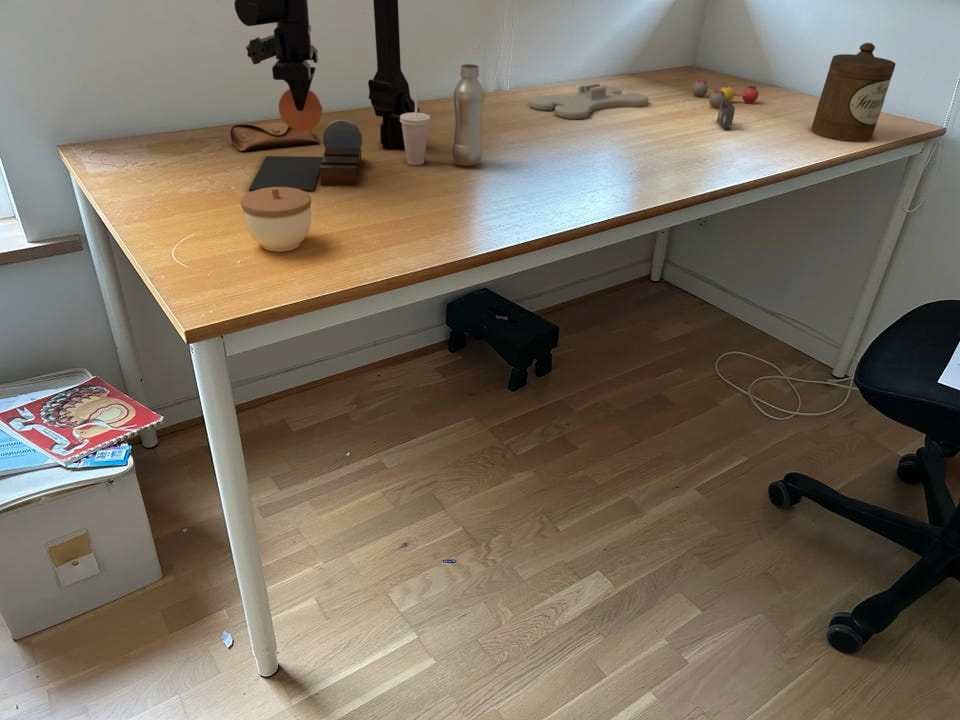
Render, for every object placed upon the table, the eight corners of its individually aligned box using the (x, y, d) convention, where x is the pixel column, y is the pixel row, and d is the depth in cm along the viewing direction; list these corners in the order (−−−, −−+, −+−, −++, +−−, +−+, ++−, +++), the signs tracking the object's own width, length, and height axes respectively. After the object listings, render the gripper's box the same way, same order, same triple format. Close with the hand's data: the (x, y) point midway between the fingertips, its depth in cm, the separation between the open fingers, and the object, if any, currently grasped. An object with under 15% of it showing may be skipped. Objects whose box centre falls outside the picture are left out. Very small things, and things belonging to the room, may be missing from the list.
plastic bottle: (486, 162, 159) (490, 64, 148) (475, 171, 154) (479, 71, 143) (458, 158, 161) (460, 61, 150) (447, 167, 155) (448, 67, 144)
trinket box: (233, 250, 116) (224, 193, 111) (272, 226, 125) (265, 172, 120) (291, 263, 113) (284, 205, 108) (327, 237, 122) (323, 183, 117)
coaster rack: (328, 159, 156) (327, 143, 154) (361, 160, 157) (360, 143, 155) (320, 185, 143) (319, 167, 141) (357, 185, 143) (356, 168, 142)
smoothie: (407, 168, 153) (406, 99, 146) (395, 159, 158) (394, 92, 150) (435, 165, 156) (435, 97, 148) (423, 156, 161) (423, 90, 153)
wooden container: (855, 145, 182) (885, 50, 170) (800, 131, 191) (825, 40, 180) (882, 135, 191) (912, 45, 179) (827, 122, 200) (853, 35, 188)
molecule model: (689, 94, 222) (692, 78, 219) (743, 95, 224) (746, 79, 221) (711, 109, 207) (714, 92, 204) (769, 110, 209) (773, 93, 206)
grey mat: (323, 158, 156) (323, 156, 156) (313, 191, 140) (313, 189, 140) (266, 157, 155) (266, 156, 155) (249, 190, 139) (248, 188, 138)
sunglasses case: (240, 150, 157) (233, 119, 156) (235, 159, 163) (228, 129, 162) (321, 141, 165) (314, 112, 164) (313, 150, 171) (307, 121, 170)
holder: (654, 104, 209) (657, 86, 206) (571, 121, 190) (574, 101, 187) (604, 90, 221) (606, 73, 218) (521, 105, 202) (523, 86, 199)
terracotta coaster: (281, 128, 142) (277, 85, 137) (323, 129, 143) (320, 86, 138) (280, 130, 141) (276, 87, 136) (323, 131, 142) (320, 88, 137)
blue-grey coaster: (324, 157, 154) (321, 118, 150) (363, 158, 155) (361, 119, 150) (324, 159, 153) (321, 120, 149) (362, 160, 154) (361, 121, 149)
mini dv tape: (730, 130, 189) (735, 106, 186) (724, 130, 189) (729, 106, 186) (722, 122, 196) (727, 98, 193) (716, 121, 196) (721, 98, 193)
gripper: (255, 11, 138) (264, 97, 147) (236, 27, 123) (248, 122, 131) (315, 13, 139) (321, 98, 148) (304, 29, 124) (312, 123, 132)
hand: (300, 109), depth 140 cm, fingers closed on terracotta coaster, 1 cm apart
